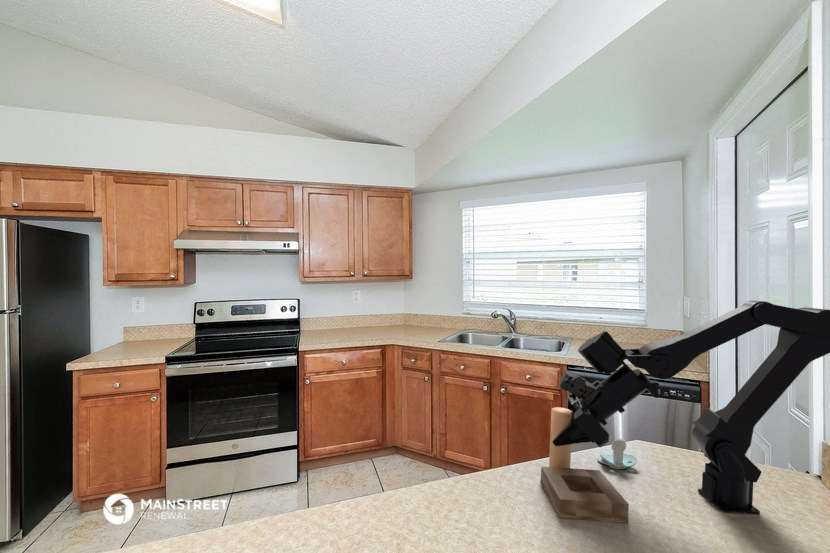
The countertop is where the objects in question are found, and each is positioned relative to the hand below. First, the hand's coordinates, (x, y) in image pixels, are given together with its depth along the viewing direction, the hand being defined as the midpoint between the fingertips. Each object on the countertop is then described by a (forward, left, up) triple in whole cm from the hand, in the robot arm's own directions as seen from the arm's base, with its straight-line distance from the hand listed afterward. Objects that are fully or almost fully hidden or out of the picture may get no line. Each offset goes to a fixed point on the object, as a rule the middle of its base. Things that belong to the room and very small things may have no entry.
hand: (553, 438), depth 79 cm
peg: (-1, 0, -7) cm, 7 cm away
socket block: (-2, +10, -7) cm, 12 cm away
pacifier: (-15, -5, -7) cm, 17 cm away
